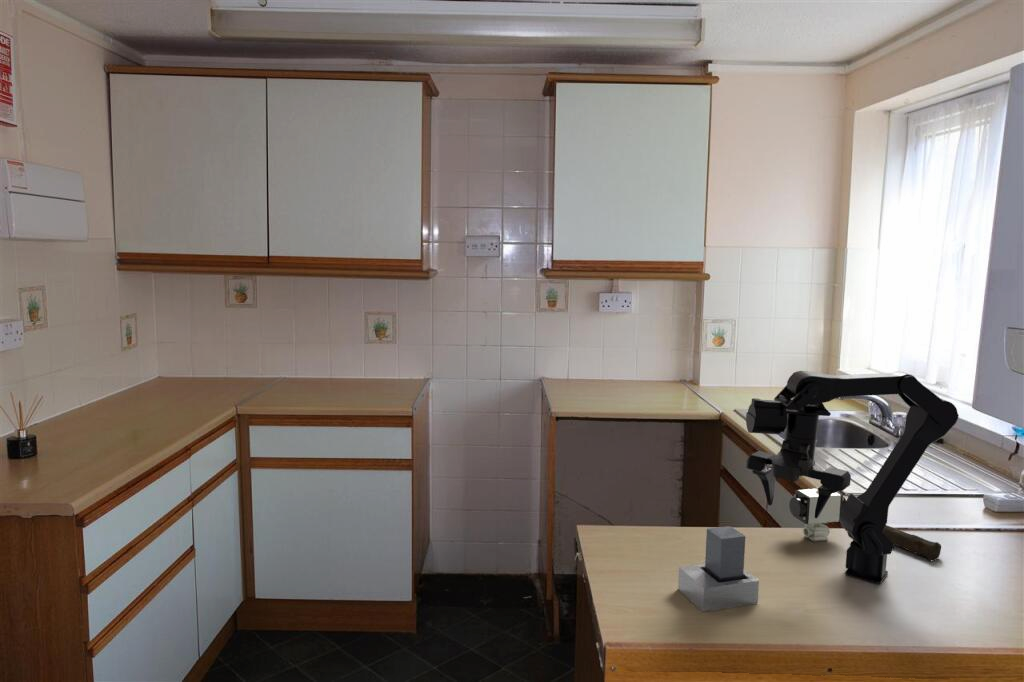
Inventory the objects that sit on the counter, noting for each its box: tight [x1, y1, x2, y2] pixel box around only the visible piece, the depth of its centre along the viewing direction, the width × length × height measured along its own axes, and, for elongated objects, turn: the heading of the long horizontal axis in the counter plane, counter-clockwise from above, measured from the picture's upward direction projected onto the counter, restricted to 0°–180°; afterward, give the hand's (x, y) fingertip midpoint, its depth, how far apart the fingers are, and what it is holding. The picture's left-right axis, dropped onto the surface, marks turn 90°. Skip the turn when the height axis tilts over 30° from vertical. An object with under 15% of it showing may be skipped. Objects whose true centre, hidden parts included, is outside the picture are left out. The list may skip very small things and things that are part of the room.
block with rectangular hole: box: [677, 563, 760, 613], centre depth 134 cm, size 12×9×4 cm
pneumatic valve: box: [788, 486, 847, 543], centre depth 161 cm, size 6×12×12 cm, turn 101°
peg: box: [704, 525, 746, 583], centre depth 134 cm, size 5×5×12 cm
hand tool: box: [883, 524, 942, 562], centre depth 159 cm, size 19×4×5 cm, turn 28°
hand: (792, 511), depth 143 cm, fingers open, 9 cm apart
